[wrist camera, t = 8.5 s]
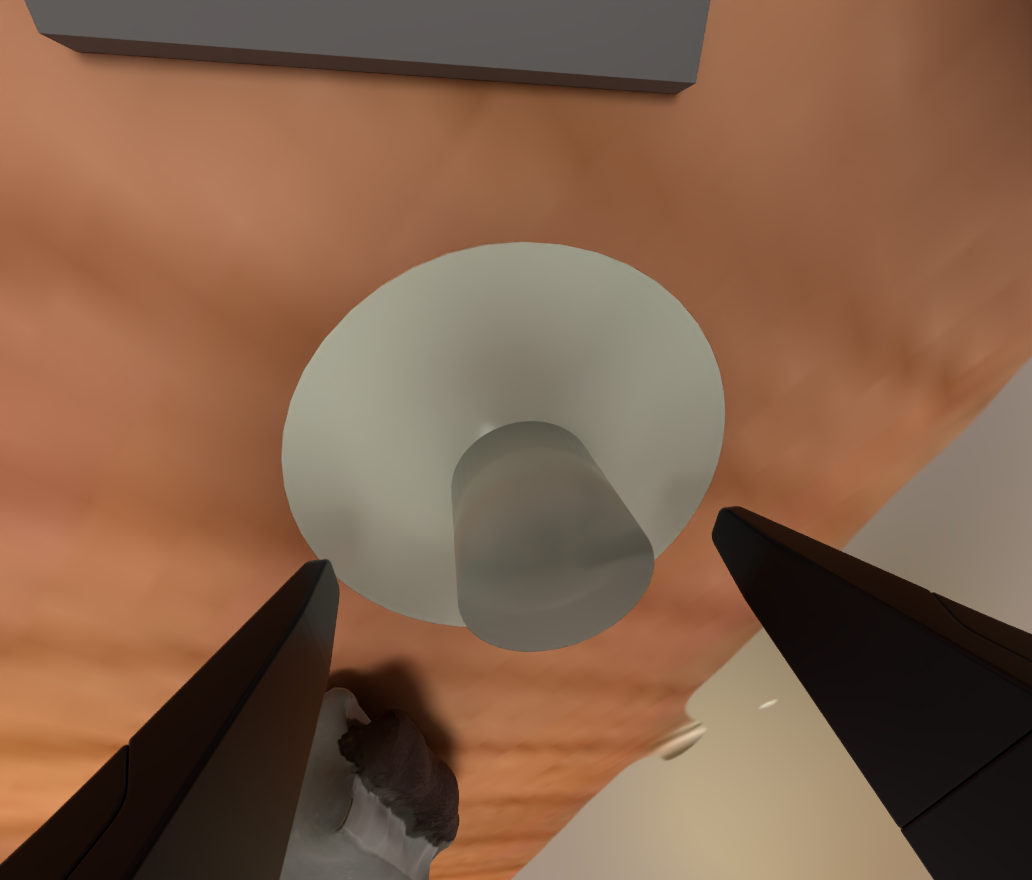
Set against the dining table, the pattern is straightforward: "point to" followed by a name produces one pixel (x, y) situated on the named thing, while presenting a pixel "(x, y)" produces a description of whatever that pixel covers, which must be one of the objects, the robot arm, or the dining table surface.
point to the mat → (405, 36)
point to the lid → (505, 441)
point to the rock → (370, 799)
